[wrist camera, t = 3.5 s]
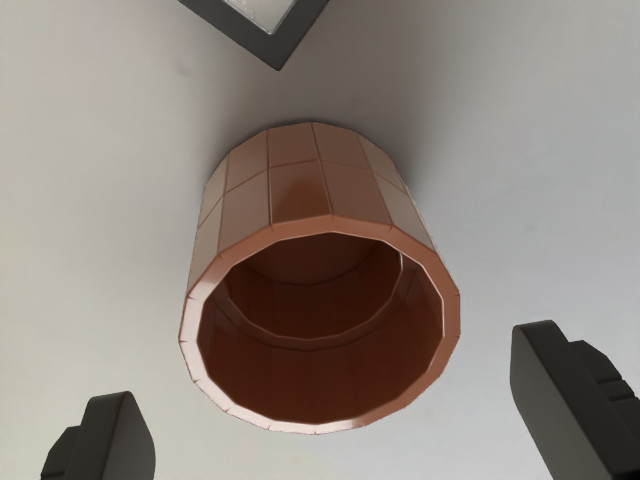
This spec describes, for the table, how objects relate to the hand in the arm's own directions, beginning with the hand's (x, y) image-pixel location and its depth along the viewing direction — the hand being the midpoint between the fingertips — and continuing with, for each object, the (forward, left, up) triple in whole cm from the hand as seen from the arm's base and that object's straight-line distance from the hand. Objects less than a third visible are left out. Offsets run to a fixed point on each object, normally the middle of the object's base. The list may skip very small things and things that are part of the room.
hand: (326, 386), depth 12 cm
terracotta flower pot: (0, 0, -8) cm, 8 cm away
